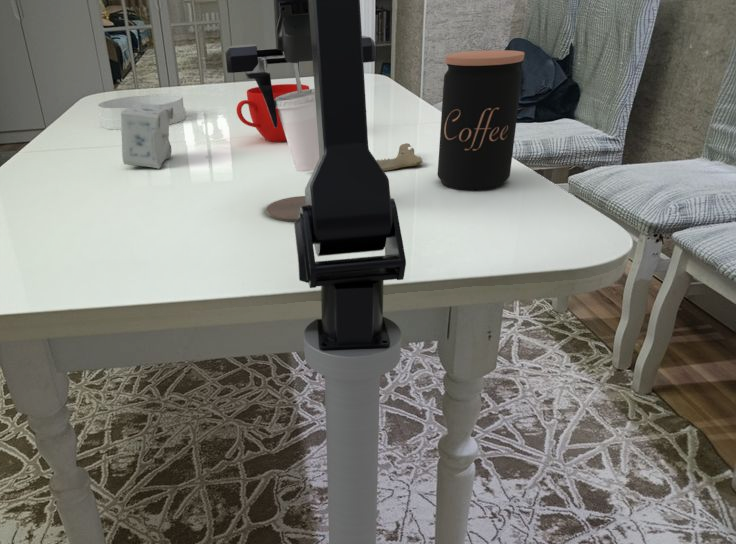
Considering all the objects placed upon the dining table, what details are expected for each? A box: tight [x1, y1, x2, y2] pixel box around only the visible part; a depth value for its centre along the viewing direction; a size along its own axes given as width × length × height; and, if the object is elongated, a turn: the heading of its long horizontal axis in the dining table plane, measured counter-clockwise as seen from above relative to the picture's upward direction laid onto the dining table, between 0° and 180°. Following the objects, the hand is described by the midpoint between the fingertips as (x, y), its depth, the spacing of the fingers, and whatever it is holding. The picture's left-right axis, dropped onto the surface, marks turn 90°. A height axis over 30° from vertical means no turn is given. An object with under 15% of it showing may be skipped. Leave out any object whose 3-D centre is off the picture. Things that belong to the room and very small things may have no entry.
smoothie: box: [274, 62, 319, 173], centre depth 85 cm, size 6×6×14 cm
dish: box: [97, 93, 187, 131], centre depth 165 cm, size 22×22×5 cm
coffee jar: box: [437, 49, 525, 191], centre depth 94 cm, size 11×11×18 cm
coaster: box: [266, 195, 306, 223], centre depth 91 cm, size 11×11×1 cm
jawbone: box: [376, 143, 423, 172], centre depth 109 cm, size 9×20×2 cm, turn 115°
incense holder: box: [120, 103, 173, 170], centre depth 120 cm, size 10×8×10 cm
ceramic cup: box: [236, 83, 310, 143], centre depth 132 cm, size 13×17×10 cm
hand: (301, 124), depth 85 cm, fingers closed on smoothie, 7 cm apart
